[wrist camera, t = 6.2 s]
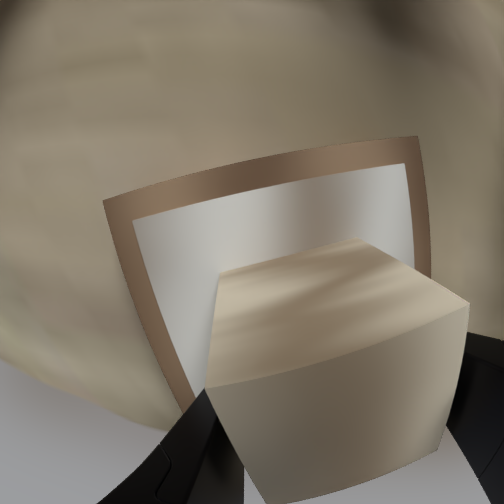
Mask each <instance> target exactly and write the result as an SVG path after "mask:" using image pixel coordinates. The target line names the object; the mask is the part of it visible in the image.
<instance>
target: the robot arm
mask: <svg viewBox="0 0 504 504" xmlns="http://www.w3.org/2000/svg"><path fill="white" fill-rule="evenodd" d="M446 426H447V428H448V429H449V431H450V433H451V434H452V436H453V437H454V439H455V441H456V442H457V444H458V446H459V447H460V449H461V450H462V452H463V454H464V456H465V457H466V459H467V461H468V462H469V464H470V466H471V468H472V469H473V471H474V473H475V475H476V476H477V478H479V479H478V480H479V482H480V484H481V486H482V487H483V489H484V491H485V493H486V495H487V497H488V499H489V501H490V503H491V504H504V340H502V341H501V340H500V339H495V338H491V337H487V336H482V335H478V334H474V333H470V332H467V334H466V341H465V347H464V353H463V358H462V364H461V369H460V373H459V378H458V382H457V387H456V391H455V395H454V398H453V402H452V406H451V409H450V413H449V416H448V420H447V423H446ZM160 444H161V445H160ZM160 444H159V445H158V446H157V447H156V448H155V449H154V450H153V451H152V453H151V454H150V455H149V456H148V457H147V458H146V459H145V460H144V461H143V463H142V464H141V465H140V466H139V467H138V468H137V469H136V470H135V471H134V472H133V473H132V474H130V475H129V476H128V477H127V478H126V479H125V480H124V481H123V482H122V483H120V484H119V485H118V486H117V487H116V488H115V489H114V490H113V491H111V492H110V493H109V494H108V495H107V496H106V497H104V498H103V499H102V500H101V501H100V502H98V503H97V504H244V465H243V464H242V462H241V460H240V458H239V456H238V454H237V453H236V451H235V449H234V447H233V445H232V443H231V441H230V440H229V438H228V436H227V434H226V432H225V430H224V428H223V426H222V424H221V422H220V420H219V418H218V416H217V414H216V412H215V410H214V408H213V406H212V404H211V401H210V399H209V397H208V395H207V393H206V391H205V387H204V389H203V390H202V391H201V392H200V394H199V395H198V396H197V397H196V399H195V400H194V401H193V403H192V404H191V405H190V406H189V408H188V409H187V410H186V411H185V413H184V414H183V415H182V416H181V418H180V419H179V420H178V421H177V422H176V424H175V425H174V426H173V427H172V429H171V430H170V431H169V432H168V434H167V435H166V436H165V437H164V439H163V440H162V441H161V442H160Z"/></svg>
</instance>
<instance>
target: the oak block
mask: <svg viewBox="0 0 504 504" xmlns="http://www.w3.org/2000/svg"><path fill="white" fill-rule="evenodd" d="M469 309H470V303H469V302H467V301H465V300H464V299H462V298H461V297H459V296H458V295H456V294H454V293H453V292H451V291H450V290H448V289H446V288H445V287H443V286H441V285H440V284H438V283H436V282H435V281H433V280H431V279H430V278H428V277H426V276H425V275H423V274H421V273H420V272H418V271H416V270H415V269H413V268H411V267H409V266H408V265H406V264H404V263H403V262H401V261H399V260H397V259H396V258H394V257H392V256H390V255H388V254H387V253H385V252H383V251H381V250H380V249H378V248H376V247H374V246H372V245H370V244H369V243H367V242H365V241H363V240H361V239H359V238H358V237H356V238H352V239H348V240H345V241H341V242H337V243H333V244H329V245H326V246H322V247H318V248H314V249H310V250H306V251H303V252H299V253H295V254H291V255H287V256H283V257H279V258H275V259H272V260H268V261H264V262H260V263H256V264H252V265H248V266H244V267H240V268H236V269H232V270H228V271H224V272H220V276H219V283H218V290H217V297H216V304H215V311H214V318H213V325H212V333H211V341H210V348H209V356H208V364H207V372H206V380H205V391H206V393H207V395H208V397H209V399H210V401H211V404H212V406H213V408H214V410H215V412H216V414H217V416H218V418H219V420H220V422H221V424H222V426H223V428H224V430H225V432H226V434H227V436H228V438H229V440H230V441H231V443H232V445H233V447H234V449H235V451H236V453H237V454H238V456H239V458H240V460H241V462H242V464H243V465H244V467H245V469H246V471H247V472H248V474H249V476H250V478H251V479H252V481H253V483H254V484H255V486H256V488H257V489H258V491H259V493H260V494H261V496H262V498H263V499H264V501H265V502H266V504H287V503H292V502H297V501H302V500H306V499H310V498H314V497H318V496H322V495H326V494H329V493H333V492H336V491H340V490H343V489H346V488H349V487H352V486H355V485H358V484H361V483H364V482H366V481H370V480H372V479H375V478H377V477H380V476H383V475H385V474H387V473H390V472H392V471H395V470H397V469H399V468H401V467H404V466H406V465H408V464H410V463H412V462H414V461H416V460H419V459H421V458H422V457H424V456H427V455H428V454H430V453H432V452H434V451H436V450H437V449H438V446H439V444H440V441H441V438H442V435H443V432H444V429H445V426H446V423H447V420H448V416H449V413H450V409H451V406H452V402H453V398H454V395H455V391H456V387H457V382H458V378H459V373H460V369H461V364H462V358H463V353H464V347H465V341H466V334H467V327H468V318H469Z"/></svg>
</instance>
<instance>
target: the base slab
mask: <svg viewBox="0 0 504 504" xmlns="http://www.w3.org/2000/svg"><path fill="white" fill-rule="evenodd" d="M103 205H104V209H105V212H106V216H107V220H108V224H109V227H110V231H111V234H112V238H113V241H114V245H115V248H116V251H117V255H118V258H119V261H120V264H121V267H122V270H123V273H124V276H125V279H126V282H127V285H128V288H129V291H130V294H131V296H132V299H133V302H134V304H135V307H136V310H137V312H138V315H139V318H140V320H141V323H142V325H143V328H144V330H145V333H146V335H147V338H148V340H149V342H150V345H151V347H152V349H153V352H154V354H155V356H156V358H157V361H158V363H159V365H160V367H161V370H162V372H163V374H164V376H165V378H166V380H167V382H168V384H169V386H170V388H171V391H172V393H173V395H174V397H175V399H176V401H177V402H178V404H179V406H180V408H181V410H182V412H183V414H184V413H185V411H186V410H187V409H188V408H189V406H190V405H191V404H192V403H193V401H194V400H195V399H196V397H197V396H198V395H199V394H200V392H201V391H202V390H203V389H204V387H205V380H206V372H207V364H208V356H209V348H210V341H211V333H212V325H213V318H214V311H215V304H216V297H217V290H218V283H219V276H220V272H224V271H228V270H232V269H236V268H240V267H244V266H248V265H252V264H256V263H260V262H264V261H268V260H272V259H275V258H279V257H283V256H287V255H291V254H295V253H299V252H303V251H306V250H310V249H314V248H318V247H322V246H326V245H329V244H333V243H337V242H341V241H345V240H348V239H352V238H356V237H358V238H359V239H361V240H363V241H365V242H367V243H369V244H370V245H372V246H374V247H376V248H378V249H380V250H381V251H383V252H385V253H387V254H388V255H390V256H392V257H394V258H396V259H397V260H399V261H401V262H403V263H404V264H406V265H408V266H409V267H411V268H413V269H415V270H416V271H418V272H420V273H421V274H423V275H425V276H426V277H428V278H430V279H431V246H430V227H429V213H428V202H427V193H426V185H425V177H424V170H423V164H422V157H421V152H420V146H419V141H418V136H411V137H399V138H388V139H378V140H369V141H361V142H353V143H345V144H338V145H331V146H325V147H318V148H312V149H306V150H300V151H294V152H289V153H283V154H278V155H273V156H268V157H263V158H258V159H253V160H248V161H244V162H239V163H235V164H230V165H226V166H222V167H217V168H213V169H209V170H205V171H201V172H197V173H193V174H189V175H186V176H182V177H178V178H175V179H171V180H167V181H164V182H160V183H157V184H154V185H150V186H147V187H143V188H140V189H137V190H134V191H130V192H127V193H124V194H121V195H118V196H115V197H112V198H109V199H106V200H103Z"/></svg>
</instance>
